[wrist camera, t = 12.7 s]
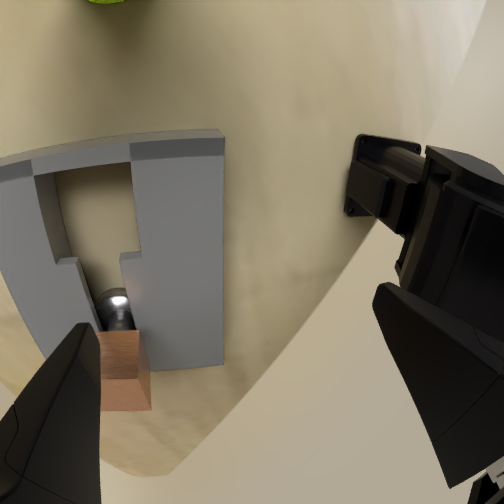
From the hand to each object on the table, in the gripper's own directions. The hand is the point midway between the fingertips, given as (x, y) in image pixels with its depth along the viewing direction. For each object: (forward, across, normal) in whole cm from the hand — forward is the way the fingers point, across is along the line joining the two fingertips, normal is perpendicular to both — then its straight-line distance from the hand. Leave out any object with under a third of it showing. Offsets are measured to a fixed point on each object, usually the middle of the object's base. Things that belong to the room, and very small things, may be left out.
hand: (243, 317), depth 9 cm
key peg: (+12, +8, +10) cm, 18 cm away
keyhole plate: (+12, +8, +6) cm, 16 cm away
